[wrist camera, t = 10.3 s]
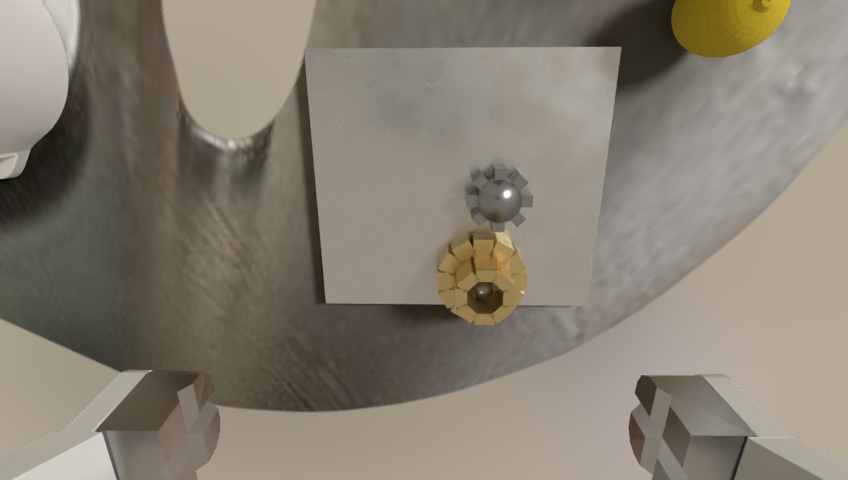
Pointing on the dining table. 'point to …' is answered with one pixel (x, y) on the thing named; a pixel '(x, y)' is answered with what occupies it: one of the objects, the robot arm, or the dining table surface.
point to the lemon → (725, 24)
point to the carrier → (458, 164)
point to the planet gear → (481, 277)
